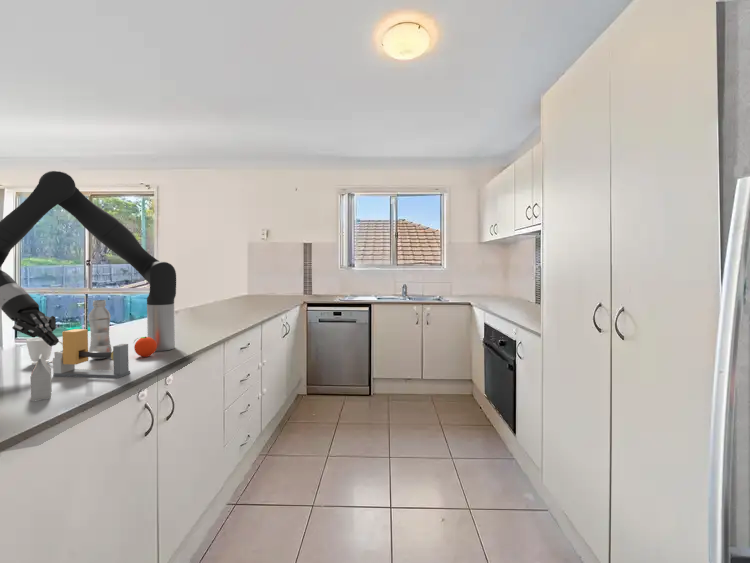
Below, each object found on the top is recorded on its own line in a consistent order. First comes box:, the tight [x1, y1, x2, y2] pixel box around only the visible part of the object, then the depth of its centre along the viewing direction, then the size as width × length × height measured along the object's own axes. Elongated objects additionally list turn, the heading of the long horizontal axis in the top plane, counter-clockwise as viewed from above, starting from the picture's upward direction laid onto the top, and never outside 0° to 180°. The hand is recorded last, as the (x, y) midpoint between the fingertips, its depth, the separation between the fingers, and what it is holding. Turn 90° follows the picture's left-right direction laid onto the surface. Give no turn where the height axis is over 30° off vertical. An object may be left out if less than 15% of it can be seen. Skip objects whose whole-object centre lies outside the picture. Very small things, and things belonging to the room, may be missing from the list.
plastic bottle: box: [87, 299, 113, 360], centre depth 141 cm, size 6×7×20 cm
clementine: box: [133, 336, 157, 358], centre depth 146 cm, size 8×7×7 cm
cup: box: [25, 336, 63, 366], centre depth 136 cm, size 7×10×8 cm
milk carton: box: [30, 354, 53, 402], centre depth 103 cm, size 4×7×10 cm, turn 36°
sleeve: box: [61, 328, 89, 366], centre depth 122 cm, size 4×5×10 cm
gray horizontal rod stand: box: [52, 343, 131, 379], centre depth 122 cm, size 20×5×9 cm, turn 86°
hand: (55, 343), depth 123 cm, fingers closed
